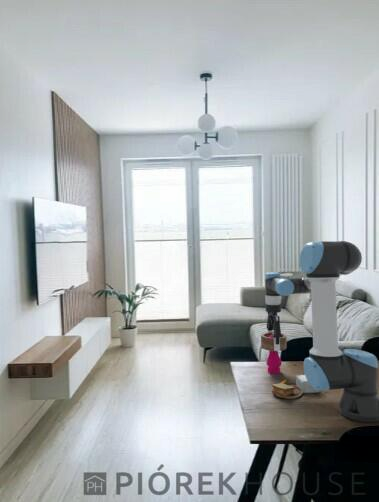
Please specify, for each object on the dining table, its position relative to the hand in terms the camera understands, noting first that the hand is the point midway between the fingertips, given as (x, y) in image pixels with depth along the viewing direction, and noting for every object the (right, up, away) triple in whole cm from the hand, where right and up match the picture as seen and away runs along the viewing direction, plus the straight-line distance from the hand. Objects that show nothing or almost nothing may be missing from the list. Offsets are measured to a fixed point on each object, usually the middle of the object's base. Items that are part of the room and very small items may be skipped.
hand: (273, 347), depth 184 cm
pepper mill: (0, -13, 0) cm, 13 cm away
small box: (+10, -13, -22) cm, 27 cm away
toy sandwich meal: (0, -14, -26) cm, 30 cm away
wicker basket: (0, 0, 0) cm, 0 cm away
